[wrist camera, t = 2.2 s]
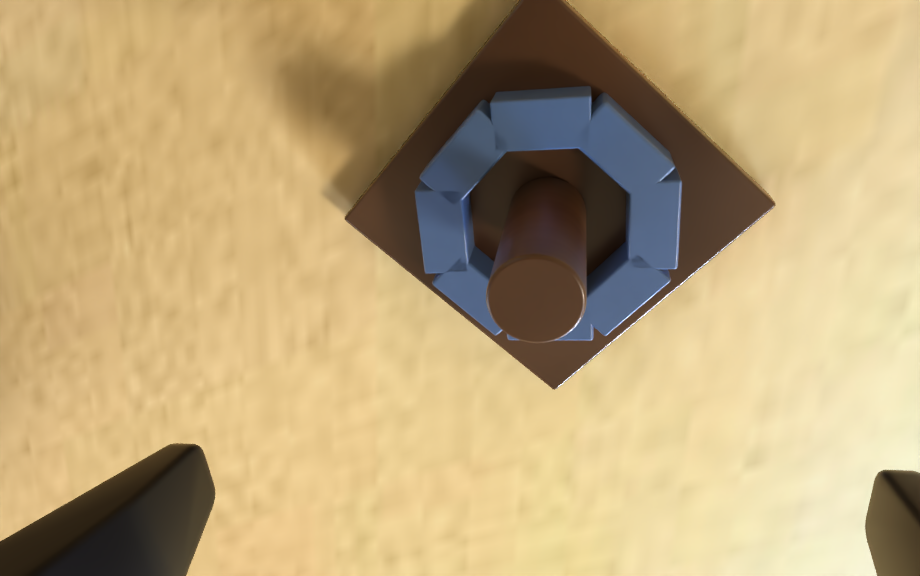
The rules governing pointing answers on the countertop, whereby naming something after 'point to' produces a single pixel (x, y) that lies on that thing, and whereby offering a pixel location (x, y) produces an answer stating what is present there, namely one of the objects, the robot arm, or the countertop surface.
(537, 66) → the dowel stand
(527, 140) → the ring
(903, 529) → the robot arm
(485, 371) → the countertop surface
